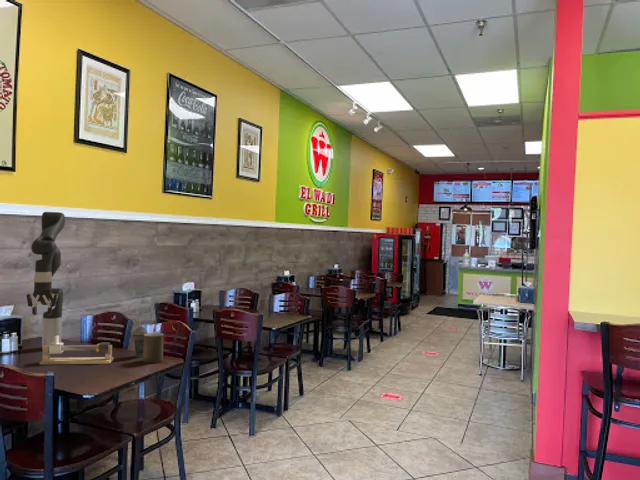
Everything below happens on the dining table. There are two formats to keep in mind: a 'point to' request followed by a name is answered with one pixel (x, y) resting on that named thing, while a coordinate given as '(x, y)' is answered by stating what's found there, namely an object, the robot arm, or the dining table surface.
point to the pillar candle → (153, 347)
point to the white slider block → (55, 346)
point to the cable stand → (100, 348)
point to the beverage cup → (139, 340)
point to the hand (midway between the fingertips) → (42, 314)
